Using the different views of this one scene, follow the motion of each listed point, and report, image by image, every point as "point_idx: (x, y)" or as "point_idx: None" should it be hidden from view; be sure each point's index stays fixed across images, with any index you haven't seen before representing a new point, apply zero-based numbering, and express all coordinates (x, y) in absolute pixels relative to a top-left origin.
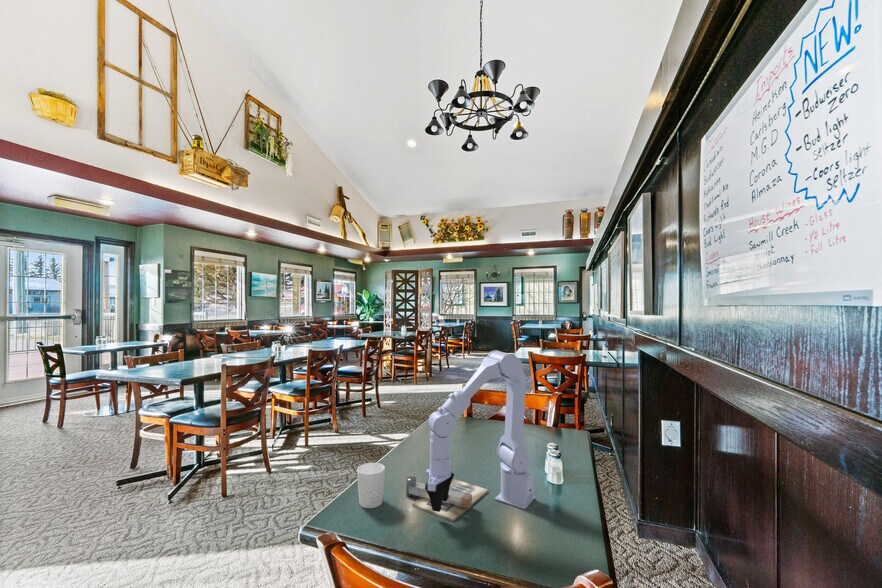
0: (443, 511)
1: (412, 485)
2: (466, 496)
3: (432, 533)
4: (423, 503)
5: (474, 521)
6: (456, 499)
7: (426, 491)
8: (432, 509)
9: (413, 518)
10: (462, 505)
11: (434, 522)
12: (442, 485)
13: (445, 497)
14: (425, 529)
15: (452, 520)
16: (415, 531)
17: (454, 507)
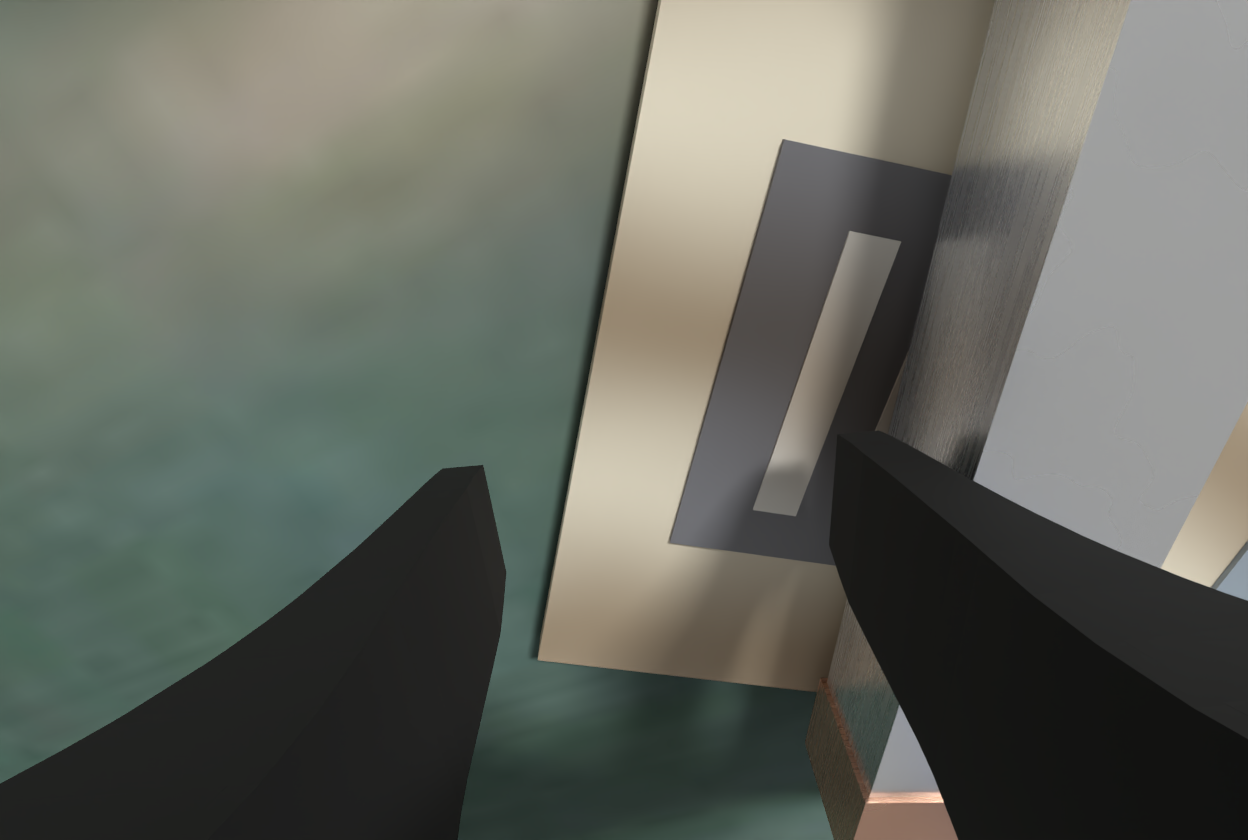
0: (668, 499)
1: None
2: (933, 836)
3: (167, 532)
4: (798, 64)
5: (652, 782)
6: (874, 698)
7: (1078, 54)
8: (435, 476)
9: (290, 94)
10: (827, 712)
11: (400, 459)
12: (996, 728)
13: (854, 579)
14: (172, 422)
15: (540, 639)
16: (18, 316)
17: (826, 583)
